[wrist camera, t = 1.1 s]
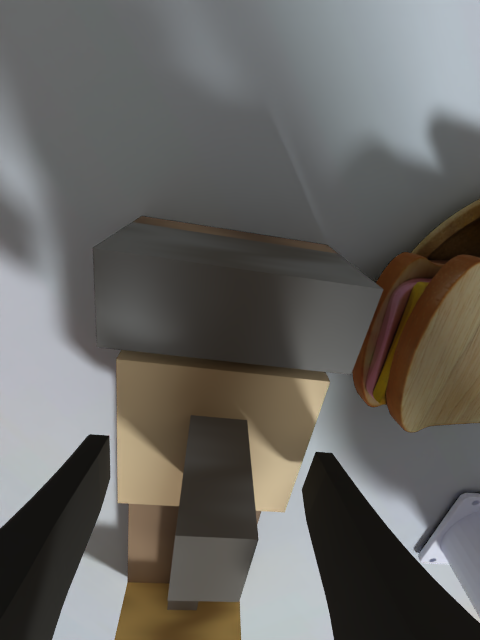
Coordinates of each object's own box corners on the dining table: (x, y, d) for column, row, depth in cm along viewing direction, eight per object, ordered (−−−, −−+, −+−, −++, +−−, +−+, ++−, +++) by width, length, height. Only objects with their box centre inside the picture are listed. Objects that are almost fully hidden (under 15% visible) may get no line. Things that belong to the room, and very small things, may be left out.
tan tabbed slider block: (306, 332, 14) (383, 491, 7) (273, 447, 17) (306, 635, 10) (141, 312, 13) (56, 470, 6) (138, 436, 16) (77, 633, 9)
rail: (327, 244, 14) (383, 289, 9) (232, 583, 26) (234, 680, 21) (141, 216, 13) (92, 248, 8) (132, 580, 25) (110, 681, 20)
